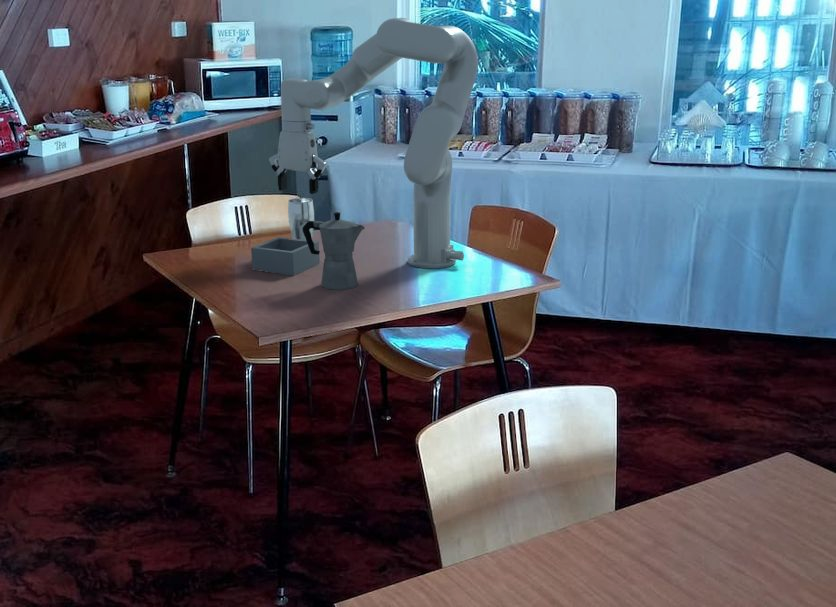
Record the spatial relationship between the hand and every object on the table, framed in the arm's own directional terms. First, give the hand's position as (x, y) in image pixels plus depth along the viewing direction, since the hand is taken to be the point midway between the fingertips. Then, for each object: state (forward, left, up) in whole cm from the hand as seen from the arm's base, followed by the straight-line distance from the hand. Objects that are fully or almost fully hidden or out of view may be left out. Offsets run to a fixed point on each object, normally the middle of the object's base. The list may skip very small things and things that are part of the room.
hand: (298, 191), depth 246 cm
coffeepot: (-23, +21, -18) cm, 36 cm away
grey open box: (-4, +13, -17) cm, 22 cm away
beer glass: (-1, 0, -18) cm, 18 cm away
